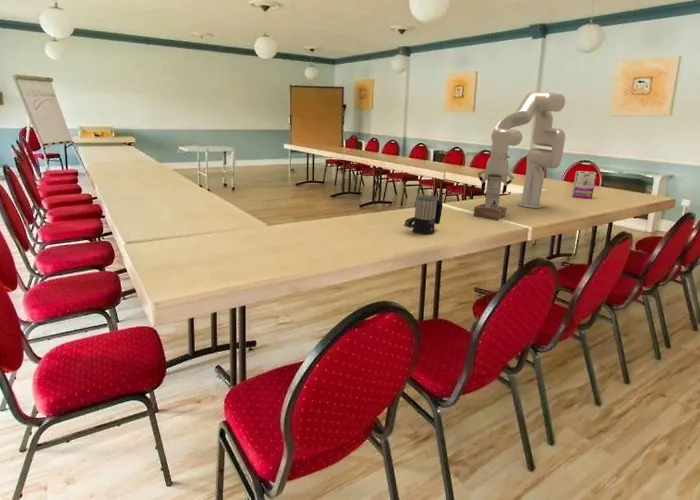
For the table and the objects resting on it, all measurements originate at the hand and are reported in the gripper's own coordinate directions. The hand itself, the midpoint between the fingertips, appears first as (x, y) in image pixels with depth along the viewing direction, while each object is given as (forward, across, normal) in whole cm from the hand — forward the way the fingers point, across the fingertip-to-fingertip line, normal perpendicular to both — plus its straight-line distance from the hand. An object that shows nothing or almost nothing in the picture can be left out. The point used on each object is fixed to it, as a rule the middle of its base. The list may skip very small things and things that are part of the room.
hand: (493, 192), depth 229 cm
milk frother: (+12, +21, +47) cm, 53 cm away
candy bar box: (+12, -39, -95) cm, 103 cm away
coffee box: (+8, 0, 0) cm, 8 cm away
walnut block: (+13, 0, 0) cm, 13 cm away
